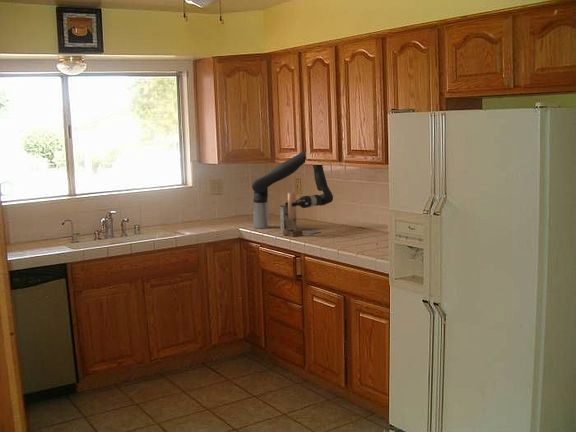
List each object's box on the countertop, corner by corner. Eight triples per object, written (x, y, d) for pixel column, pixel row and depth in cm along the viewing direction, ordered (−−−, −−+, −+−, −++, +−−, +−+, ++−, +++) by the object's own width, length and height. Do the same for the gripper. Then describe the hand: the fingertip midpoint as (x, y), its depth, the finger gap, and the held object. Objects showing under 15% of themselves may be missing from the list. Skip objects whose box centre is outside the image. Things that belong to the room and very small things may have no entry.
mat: (300, 233, 430) (300, 232, 429) (310, 231, 436) (310, 230, 436) (311, 234, 423) (311, 233, 423) (320, 232, 429) (320, 231, 429)
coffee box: (293, 228, 450) (292, 204, 447) (296, 229, 444) (296, 205, 442) (280, 229, 446) (279, 205, 444) (283, 231, 440) (283, 206, 438)
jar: (286, 218, 421) (285, 192, 419) (292, 217, 425) (291, 192, 422) (292, 219, 418) (291, 193, 415) (298, 218, 421) (297, 192, 419)
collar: (283, 235, 423) (283, 230, 422) (293, 233, 428) (292, 229, 428) (293, 236, 417) (292, 232, 416) (302, 235, 423) (302, 230, 422)
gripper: (299, 194, 434) (280, 197, 423) (316, 196, 424) (297, 199, 412) (300, 206, 435) (281, 209, 424) (316, 208, 425) (297, 211, 413)
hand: (289, 204), depth 418 cm, fingers closed on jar, 5 cm apart
